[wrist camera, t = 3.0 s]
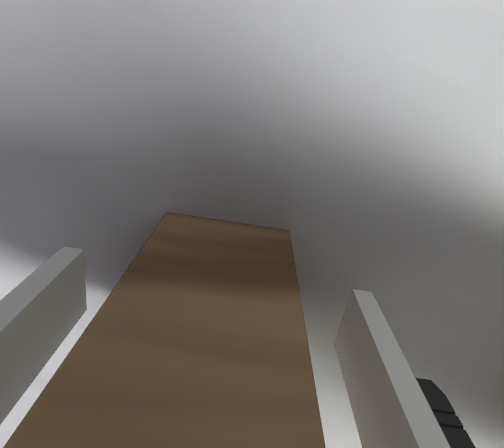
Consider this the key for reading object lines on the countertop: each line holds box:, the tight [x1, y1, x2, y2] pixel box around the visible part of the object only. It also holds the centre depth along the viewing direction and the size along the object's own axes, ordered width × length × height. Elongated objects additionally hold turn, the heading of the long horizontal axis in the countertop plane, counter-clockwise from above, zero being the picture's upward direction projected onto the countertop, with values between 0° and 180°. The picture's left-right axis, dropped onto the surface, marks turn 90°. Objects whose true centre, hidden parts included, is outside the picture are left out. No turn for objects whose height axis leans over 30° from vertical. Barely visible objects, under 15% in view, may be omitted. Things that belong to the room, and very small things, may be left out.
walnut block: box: [3, 212, 325, 448], centre depth 10 cm, size 5×5×10 cm
